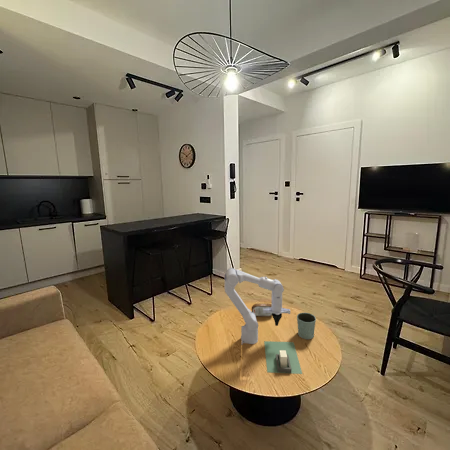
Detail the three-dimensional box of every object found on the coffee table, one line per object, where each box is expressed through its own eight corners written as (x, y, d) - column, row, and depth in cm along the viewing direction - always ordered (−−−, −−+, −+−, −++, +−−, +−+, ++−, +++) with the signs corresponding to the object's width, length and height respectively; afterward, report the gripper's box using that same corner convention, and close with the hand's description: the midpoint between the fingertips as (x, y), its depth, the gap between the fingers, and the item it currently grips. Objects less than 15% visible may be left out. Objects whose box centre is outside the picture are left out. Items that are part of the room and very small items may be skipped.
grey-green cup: (318, 335, 141) (319, 316, 138) (309, 344, 134) (310, 324, 131) (301, 328, 148) (302, 310, 145) (293, 336, 141) (293, 317, 139)
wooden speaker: (274, 314, 164) (274, 302, 162) (274, 317, 161) (274, 305, 159) (251, 314, 164) (251, 303, 163) (251, 317, 161) (251, 305, 160)
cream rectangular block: (280, 367, 117) (280, 356, 116) (279, 359, 122) (279, 349, 121) (287, 368, 117) (287, 357, 116) (285, 359, 122) (285, 349, 121)
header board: (267, 374, 115) (267, 368, 114) (264, 342, 136) (264, 338, 136) (302, 375, 113) (302, 370, 113) (293, 343, 135) (293, 338, 134)
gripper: (263, 305, 131) (263, 328, 133) (291, 306, 129) (291, 329, 132) (263, 299, 138) (263, 321, 140) (289, 299, 136) (288, 321, 139)
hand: (276, 324), depth 137 cm, fingers closed
